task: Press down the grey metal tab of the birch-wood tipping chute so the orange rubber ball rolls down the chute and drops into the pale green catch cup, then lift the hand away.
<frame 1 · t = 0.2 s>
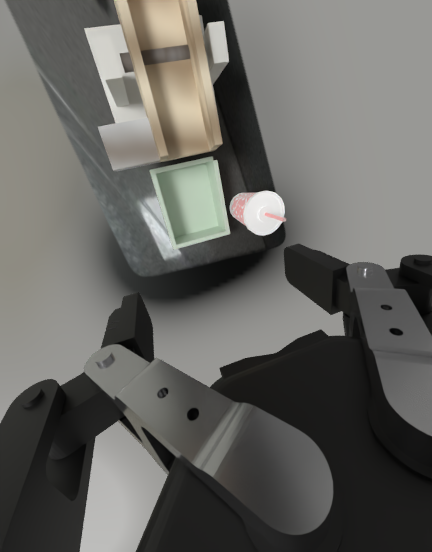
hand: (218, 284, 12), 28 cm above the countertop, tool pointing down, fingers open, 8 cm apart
catch cup: (188, 201, 37), on the countertop
tipping chute: (143, 55, 22), point 9 cm above the countertop, hinge at -5.0°, touching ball
beverage cup: (241, 206, 40), on the countertop
pivot stand: (160, 87, 30), on the countertop
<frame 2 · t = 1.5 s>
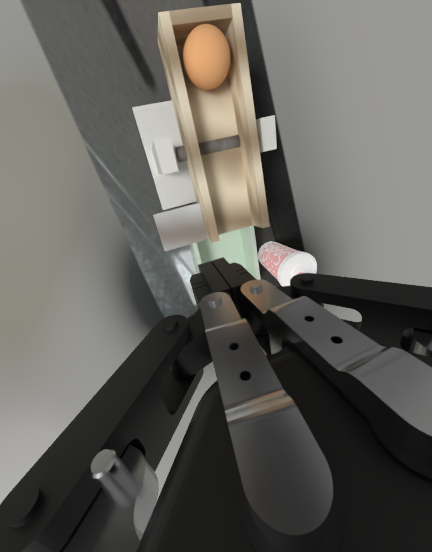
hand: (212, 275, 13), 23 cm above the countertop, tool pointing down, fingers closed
catch cup: (219, 252, 38), on the countertop
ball: (206, 59, 19), point 10 cm above the countertop, tilted 37°, touching tipping chute
tipping chute: (198, 149, 23), point 9 cm above the countertop, hinge at -5.0°, touching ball
beverage cup: (268, 253, 41), on the countertop
pivot stand: (199, 152, 31), on the countertop
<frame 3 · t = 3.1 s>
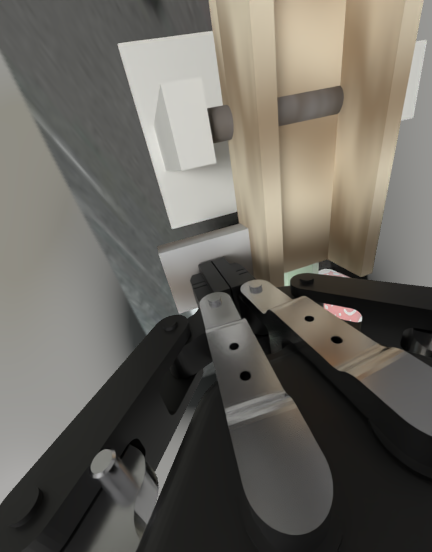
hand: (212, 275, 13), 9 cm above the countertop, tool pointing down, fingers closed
tipping chute: (259, 115, 10), point 9 cm above the countertop, hinge at 2.4°, touching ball, gripper
beverage cup: (320, 284, 29), on the countertop
pivot stand: (232, 135, 19), on the countertop
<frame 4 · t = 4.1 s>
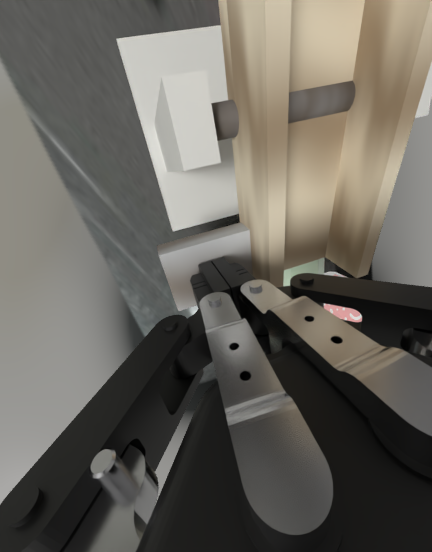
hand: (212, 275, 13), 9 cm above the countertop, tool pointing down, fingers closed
catch cup: (256, 290, 25), on the countertop
tipping chute: (266, 113, 10), point 9 cm above the countertop, hinge at 8.6°, touching gripper
beverage cup: (324, 287, 28), on the countertop
pivot stand: (235, 134, 18), on the countertop
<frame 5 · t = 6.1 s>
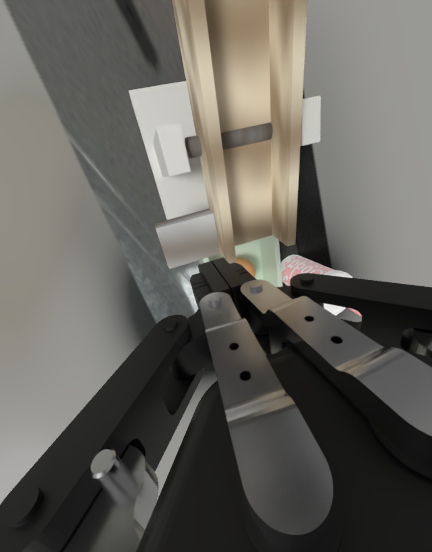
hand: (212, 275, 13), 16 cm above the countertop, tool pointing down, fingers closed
catch cup: (233, 268, 32), on the countertop
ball: (240, 273, 29), point 3 cm above the countertop, tilted 105°, touching catch cup
tipping chute: (217, 142, 17), point 9 cm above the countertop, hinge at 8.6°
beverage cup: (290, 268, 35), on the countertop
pivot stand: (211, 149, 25), on the countertop
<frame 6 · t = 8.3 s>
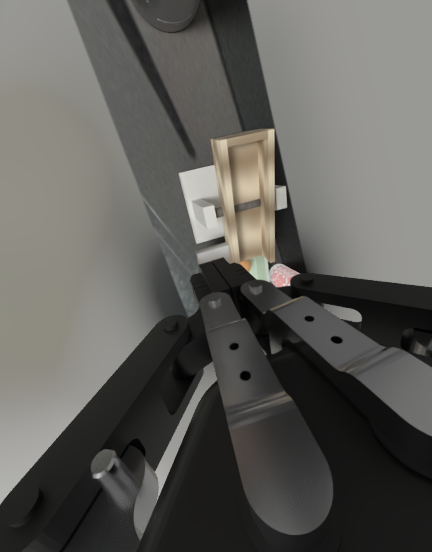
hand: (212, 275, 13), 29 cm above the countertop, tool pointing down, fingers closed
catch cup: (238, 273, 47), on the countertop
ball: (240, 265, 44), point 3 cm above the countertop, tilted 176°, touching catch cup
tipping chute: (232, 211, 32), point 9 cm above the countertop, hinge at 8.6°
beverage cup: (277, 273, 50), on the countertop
pivot stand: (225, 200, 40), on the countertop
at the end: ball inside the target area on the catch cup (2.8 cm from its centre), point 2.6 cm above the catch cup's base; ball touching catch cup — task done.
